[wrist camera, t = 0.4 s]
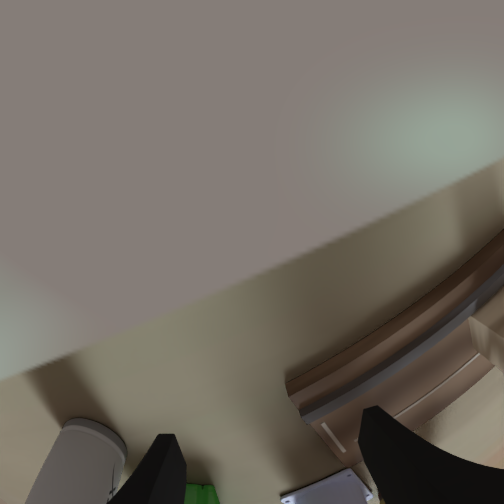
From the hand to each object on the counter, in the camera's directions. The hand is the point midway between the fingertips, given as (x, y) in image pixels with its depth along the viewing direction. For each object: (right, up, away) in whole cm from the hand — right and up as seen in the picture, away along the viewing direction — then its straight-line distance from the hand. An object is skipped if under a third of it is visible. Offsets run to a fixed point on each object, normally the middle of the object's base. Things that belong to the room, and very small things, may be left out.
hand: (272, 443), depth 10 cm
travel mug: (-15, -10, +11) cm, 21 cm away
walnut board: (+14, -1, +12) cm, 18 cm away
